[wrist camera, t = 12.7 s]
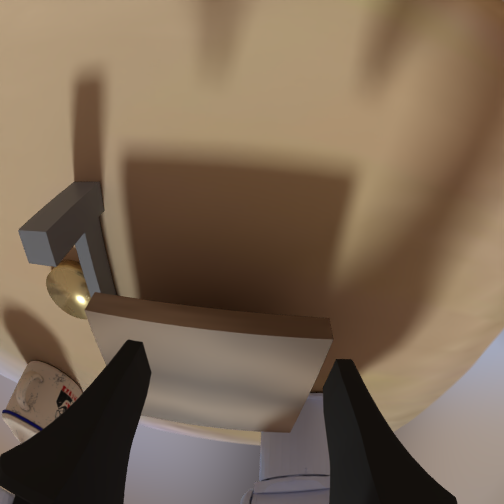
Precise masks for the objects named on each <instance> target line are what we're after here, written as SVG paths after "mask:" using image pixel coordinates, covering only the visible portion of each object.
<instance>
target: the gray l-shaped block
mask: <svg viewBox="0 0 504 504" xmlns="http://www.w3.org/2000/svg"><path fill="white" fill-rule="evenodd" d="M103 212H104V207H103V201H102V194H101V187H100V182H73V183H72V184H71V185H70V186H68V187H67V188H66V189H65V190H63V191H62V192H61V193H60V194H58V195H57V196H56V197H55V198H54V199H52V200H51V201H50V202H49V203H48V204H47V205H45V206H44V207H43V208H42V209H41V210H40V211H38V212H37V213H36V214H35V215H34V216H33V217H32V218H31V219H30V220H28V221H27V222H26V223H25V224H24V225H23V226H22V227H21V228H20V229H19V230H18V231H19V235H20V238H21V241H22V244H23V247H24V250H25V253H26V256H27V258H28V261H29V263H32V264H39V265H46V266H53V267H57V266H58V264H59V263H60V262H61V261H62V259H63V258H64V257H65V256H66V254H67V253H68V252H69V251H70V250H71V248H72V247H73V246H74V245H75V246H76V250H77V253H78V257H79V261H80V264H81V268H82V271H83V274H84V278H85V281H86V284H87V287H88V290H89V293H90V296H91V298H92V296H93V294H94V293H95V292H98V293H104V294H110V295H116V291H115V288H114V284H113V280H112V276H111V272H110V268H109V263H108V259H107V255H106V250H105V246H104V241H103V236H102V231H101V226H100V221H99V216H100V215H101V214H102V213H103Z"/></svg>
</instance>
